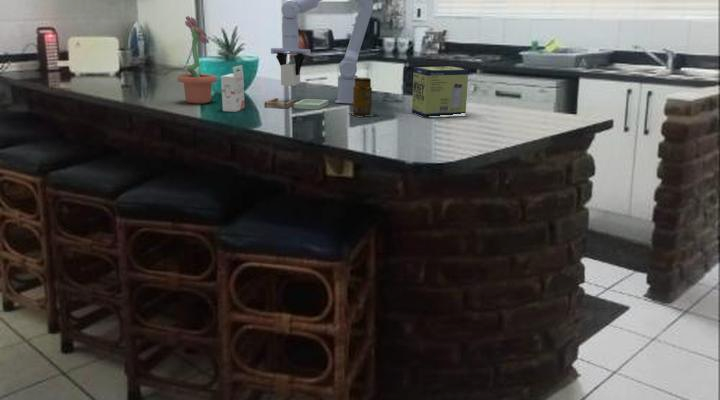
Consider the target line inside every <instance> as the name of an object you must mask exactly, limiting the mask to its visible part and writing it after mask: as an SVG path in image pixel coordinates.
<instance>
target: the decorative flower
mask: <svg viewBox="0 0 720 400" xmlns="http://www.w3.org/2000/svg"><path fill="white" fill-rule="evenodd" d="M184 23H185V26H186V27H188V28H189V30H190V32H191V37H192V42H191V53H192V59H193V64H190V65H183V64H181V63H180V65H181V66H183V67H186V70H187V72H189V73H184V74H183V73H182V74H179V75H178V76H177V82H178V83H183V89H184V97H185V101H186V102H187V103H188V104H195V105H197V104H208V103H210V102H211V99H212V84H214V83H217V82H218V78H217V75H215V74H208V73H197V71H196V69H197V68H198V67H201V65H200V58H199V54H198V53H199V52H198V42H199V43H200V42H201V43H202V44H204V45H206V44H209V43H210V41H209V39H208V38H207V33H206V32H205V31H204V29H202V28H198V27H197V26H198V24H199V22H198V20H197V19H196V18H194V17H193V16H191V17H190V16H189V15H188V16H185V21H184Z"/></svg>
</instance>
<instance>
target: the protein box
mask: <svg viewBox="0 0 720 400" xmlns="http://www.w3.org/2000/svg"><path fill="white" fill-rule="evenodd" d="M412 77H413V78H412V83H413V84H412V98H411V99H412V100H411V102H412V103H411V104H412V105H411V113H412V112H413V113H416V114H418V115H421V116H423V117H429V116H440V115H453V114H461V113H466V112H467V97H468V96H467V95H468V81H469V69H467V68H462V67H458V66H453V65H451V66H450V65H449V66H423V67H421V66H413V76H412ZM413 113H412V114H413ZM416 114H415V115H416ZM466 114H467V113H466ZM418 115H417V116H418ZM421 116H420V117H421ZM423 117H422V118H423Z"/></svg>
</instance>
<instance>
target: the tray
mask: <svg viewBox="0 0 720 400" xmlns="http://www.w3.org/2000/svg"><path fill="white" fill-rule="evenodd" d="M328 105H329V100H328V99H318V98H317V99H315V98H303V99H301V100H299V101H298V100H297V102H296V103H294V106H293V108H294V109H296V110H297V109H301V110H314V111H315V110H318V111H319V110H320V109H323V108H325V107H327V106H328Z"/></svg>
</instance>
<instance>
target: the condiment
mask: <svg viewBox="0 0 720 400" xmlns="http://www.w3.org/2000/svg"><path fill="white" fill-rule="evenodd" d="M371 81H372V80H371V78H370V77H358V78H355V86H354V88H353V104H352V113H353V114H352V116H354V117H359V118H364V117H363V116H365V115H370V114H372V104H373V103H372V101H373V100H372V96H373V95H372V94H373V91H372V86H371V85H372V82H371Z"/></svg>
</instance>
